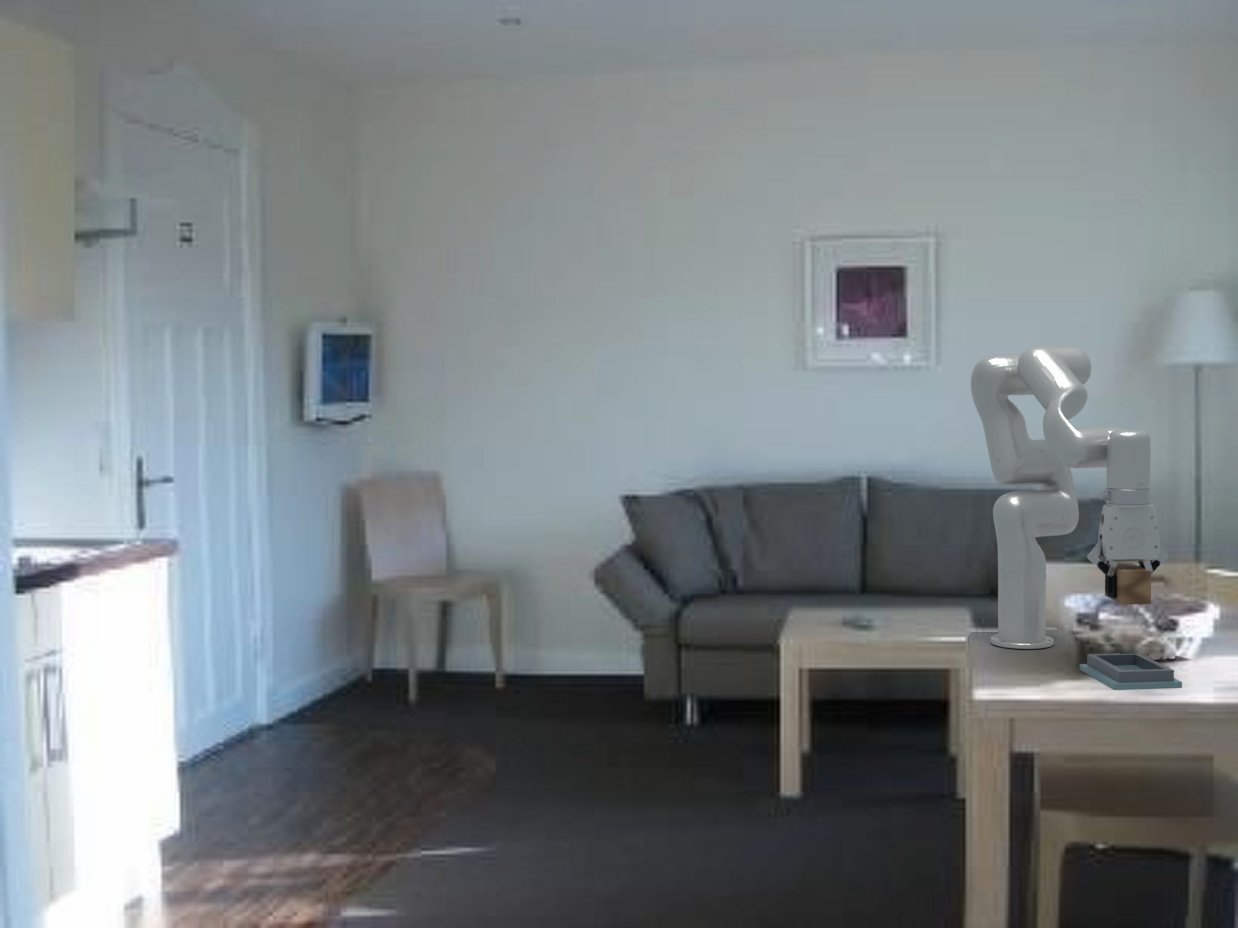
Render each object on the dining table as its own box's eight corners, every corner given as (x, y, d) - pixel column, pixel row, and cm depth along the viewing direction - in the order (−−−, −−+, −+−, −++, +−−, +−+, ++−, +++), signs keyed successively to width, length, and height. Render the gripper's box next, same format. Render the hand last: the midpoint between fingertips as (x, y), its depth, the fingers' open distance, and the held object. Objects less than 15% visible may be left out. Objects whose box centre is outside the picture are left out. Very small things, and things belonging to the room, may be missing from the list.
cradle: (1079, 669, 284) (1079, 653, 283) (1143, 667, 284) (1143, 651, 284) (1113, 689, 267) (1114, 672, 266) (1181, 687, 267) (1182, 670, 267)
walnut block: (1123, 604, 269) (1123, 571, 269) (1104, 595, 279) (1105, 563, 279) (1150, 604, 269) (1151, 571, 269) (1131, 594, 279) (1131, 563, 279)
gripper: (1089, 500, 269) (1088, 601, 270) (1182, 498, 270) (1181, 598, 271) (1075, 496, 276) (1074, 594, 278) (1165, 494, 277) (1165, 592, 278)
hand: (1127, 595), depth 274 cm, fingers closed on walnut block, 5 cm apart
